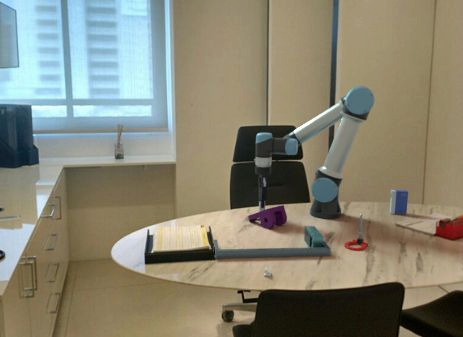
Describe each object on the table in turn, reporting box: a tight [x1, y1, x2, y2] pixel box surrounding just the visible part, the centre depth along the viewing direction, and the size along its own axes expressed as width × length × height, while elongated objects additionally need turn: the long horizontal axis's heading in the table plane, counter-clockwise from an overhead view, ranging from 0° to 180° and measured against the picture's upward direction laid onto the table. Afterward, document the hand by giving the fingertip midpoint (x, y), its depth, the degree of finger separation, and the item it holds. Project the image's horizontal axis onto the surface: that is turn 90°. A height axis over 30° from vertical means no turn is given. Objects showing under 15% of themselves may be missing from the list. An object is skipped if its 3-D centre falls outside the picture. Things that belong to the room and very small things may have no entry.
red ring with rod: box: [343, 213, 369, 252], centre depth 192 cm, size 8×13×9 cm
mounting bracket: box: [247, 204, 288, 230], centre depth 222 cm, size 9×8×18 cm
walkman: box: [389, 189, 409, 215], centre depth 241 cm, size 8×3×12 cm, turn 88°
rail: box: [212, 225, 331, 260], centre depth 192 cm, size 44×24×6 cm, turn 95°
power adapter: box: [263, 266, 273, 277], centre depth 164 cm, size 3×3×3 cm
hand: (261, 213), depth 233 cm, fingers closed
